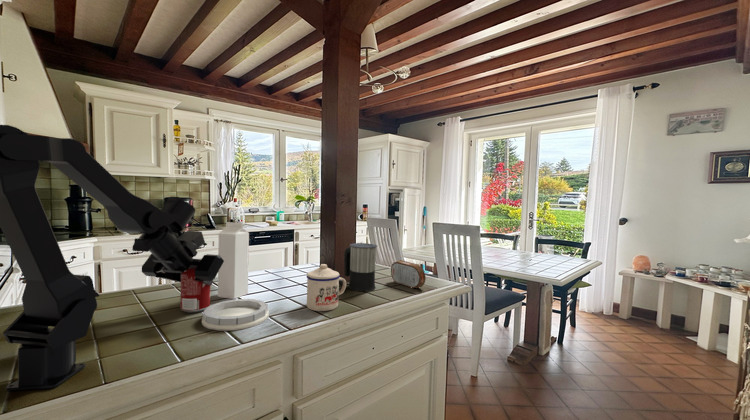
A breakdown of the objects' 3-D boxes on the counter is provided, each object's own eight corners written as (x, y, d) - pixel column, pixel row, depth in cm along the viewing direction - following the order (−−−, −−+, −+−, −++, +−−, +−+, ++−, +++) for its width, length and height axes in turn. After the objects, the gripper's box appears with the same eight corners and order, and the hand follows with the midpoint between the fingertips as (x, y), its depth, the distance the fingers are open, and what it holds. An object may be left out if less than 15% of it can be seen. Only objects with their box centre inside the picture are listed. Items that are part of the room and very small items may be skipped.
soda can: (197, 315, 78) (197, 267, 78) (173, 312, 80) (174, 265, 79) (215, 306, 85) (216, 262, 84) (194, 304, 86) (194, 260, 86)
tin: (425, 290, 107) (426, 265, 107) (419, 291, 105) (420, 266, 105) (395, 280, 118) (395, 258, 118) (388, 281, 116) (389, 259, 116)
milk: (231, 291, 99) (233, 221, 98) (248, 293, 97) (249, 222, 97) (217, 297, 93) (218, 222, 92) (234, 299, 91) (235, 223, 91)
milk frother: (380, 287, 109) (382, 244, 108) (355, 298, 95) (356, 250, 95) (347, 281, 116) (348, 240, 115) (318, 290, 102) (319, 245, 102)
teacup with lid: (315, 314, 81) (316, 269, 81) (300, 304, 88) (301, 263, 88) (353, 305, 89) (355, 264, 88) (337, 297, 96) (338, 259, 95)
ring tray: (262, 329, 71) (262, 318, 71) (190, 331, 69) (190, 320, 69) (273, 306, 86) (273, 297, 86) (214, 308, 83) (214, 299, 83)
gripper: (219, 222, 76) (244, 259, 87) (151, 219, 79) (184, 256, 90) (195, 261, 69) (226, 296, 80) (122, 256, 72) (161, 290, 83)
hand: (199, 283), depth 83 cm, fingers closed on soda can, 7 cm apart
